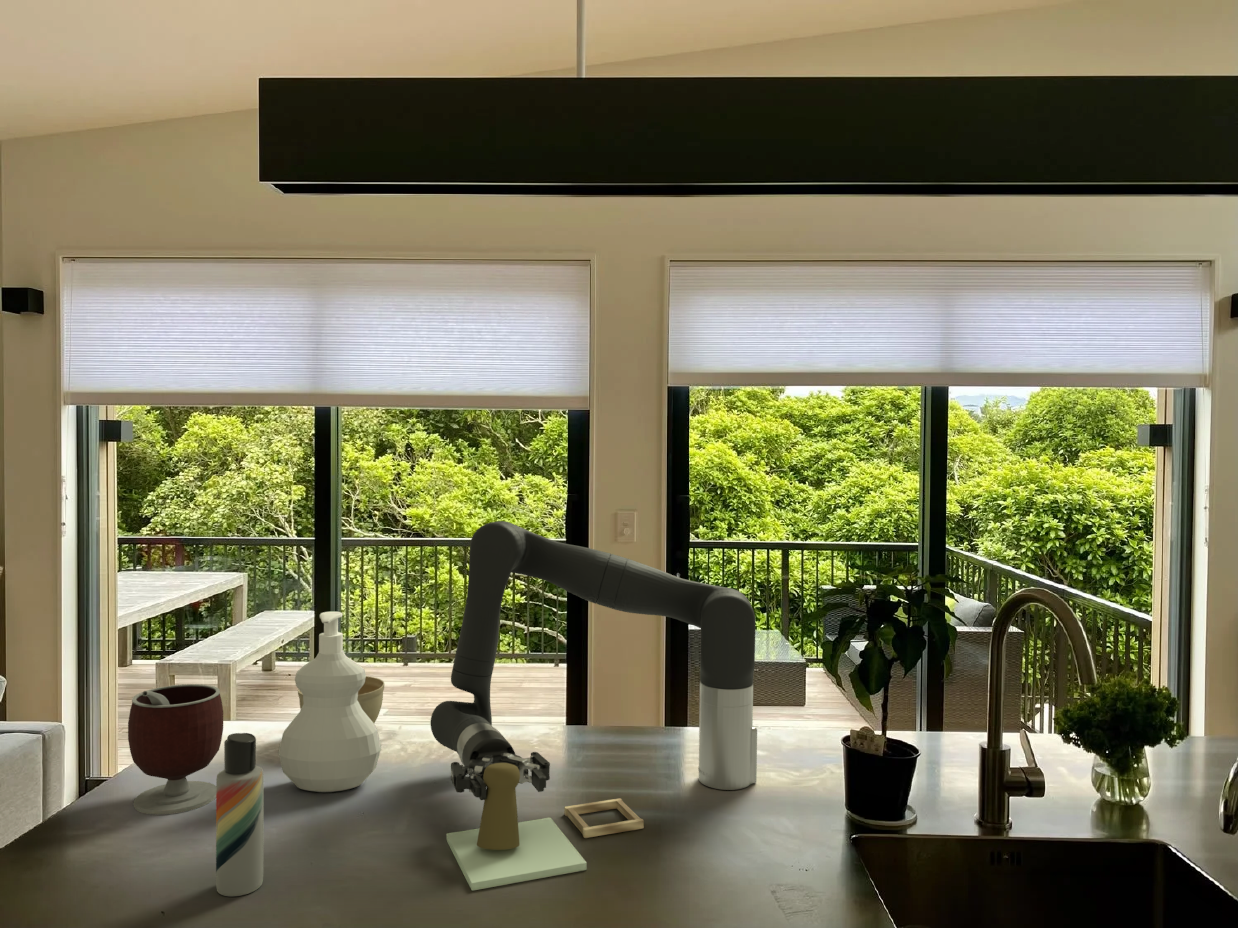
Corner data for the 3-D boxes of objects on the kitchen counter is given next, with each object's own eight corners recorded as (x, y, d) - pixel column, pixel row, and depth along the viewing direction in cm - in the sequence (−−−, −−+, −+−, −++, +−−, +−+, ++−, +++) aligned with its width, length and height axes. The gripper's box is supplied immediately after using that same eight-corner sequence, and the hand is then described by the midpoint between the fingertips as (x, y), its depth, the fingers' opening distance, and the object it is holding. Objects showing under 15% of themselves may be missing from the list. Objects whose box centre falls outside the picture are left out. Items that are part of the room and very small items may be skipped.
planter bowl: (357, 722, 187) (357, 670, 187) (400, 741, 176) (400, 685, 176) (282, 740, 176) (282, 684, 175) (323, 761, 164) (323, 702, 164)
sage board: (550, 823, 139) (550, 817, 139) (586, 869, 124) (586, 862, 124) (446, 840, 132) (446, 833, 132) (471, 890, 118) (471, 882, 118)
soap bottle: (268, 799, 147) (268, 619, 146) (290, 773, 158) (290, 606, 158) (373, 798, 148) (374, 619, 147) (387, 772, 159) (388, 606, 158)
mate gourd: (161, 781, 154) (161, 664, 153) (239, 784, 153) (239, 667, 152) (101, 818, 138) (101, 689, 138) (187, 823, 137) (188, 692, 137)
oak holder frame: (620, 805, 146) (620, 798, 146) (643, 828, 137) (643, 820, 137) (564, 814, 142) (564, 806, 142) (584, 837, 134) (584, 829, 134)
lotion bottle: (225, 876, 121) (225, 728, 120) (268, 875, 121) (269, 727, 121) (209, 898, 115) (209, 742, 114) (255, 896, 115) (255, 741, 115)
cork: (512, 850, 124) (516, 767, 126) (470, 847, 125) (475, 765, 127) (524, 841, 130) (528, 761, 132) (485, 838, 131) (489, 759, 133)
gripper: (440, 734, 141) (464, 769, 126) (528, 724, 146) (560, 756, 131) (440, 781, 141) (463, 822, 126) (527, 769, 146) (560, 807, 132)
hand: (513, 789), depth 129 cm, fingers open, 8 cm apart
